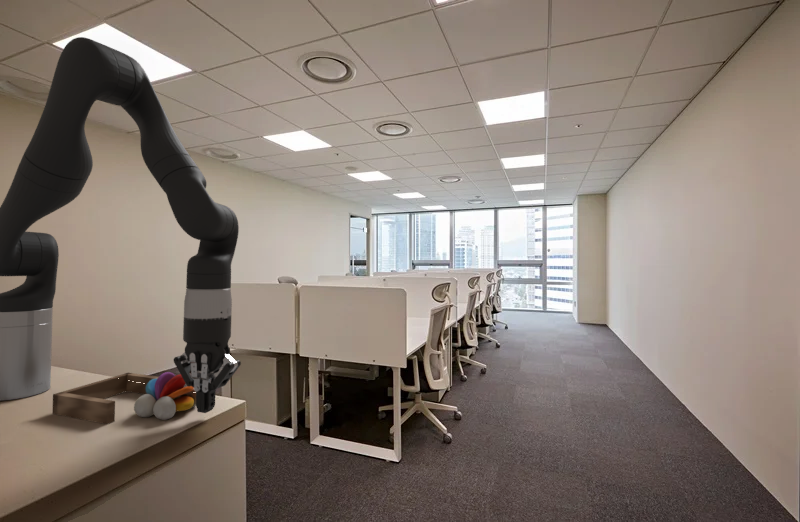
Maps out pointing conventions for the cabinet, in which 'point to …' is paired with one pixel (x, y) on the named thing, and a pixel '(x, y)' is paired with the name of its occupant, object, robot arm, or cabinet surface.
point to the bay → (98, 397)
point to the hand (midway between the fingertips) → (205, 410)
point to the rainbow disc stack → (165, 397)
